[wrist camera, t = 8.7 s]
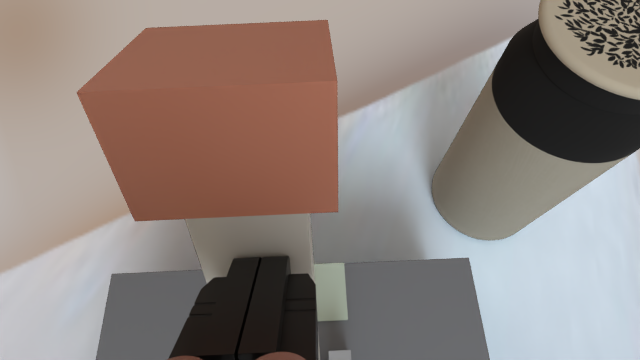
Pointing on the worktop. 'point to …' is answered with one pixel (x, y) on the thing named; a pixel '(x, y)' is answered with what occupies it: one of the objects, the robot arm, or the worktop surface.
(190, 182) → the white tall piece
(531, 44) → the travel mug
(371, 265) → the grey box
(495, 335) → the worktop surface
